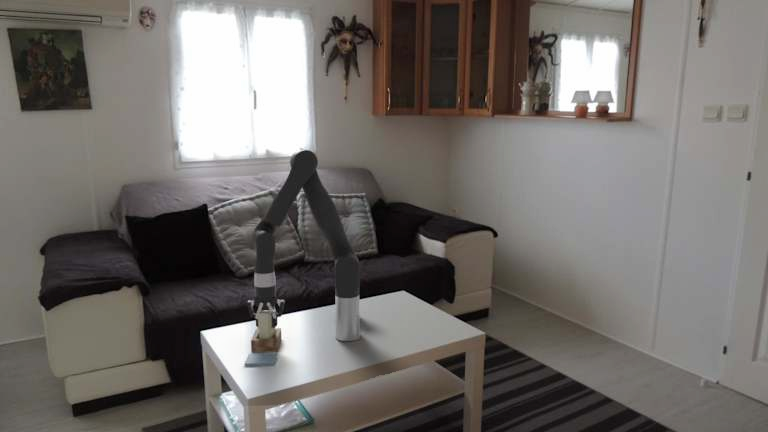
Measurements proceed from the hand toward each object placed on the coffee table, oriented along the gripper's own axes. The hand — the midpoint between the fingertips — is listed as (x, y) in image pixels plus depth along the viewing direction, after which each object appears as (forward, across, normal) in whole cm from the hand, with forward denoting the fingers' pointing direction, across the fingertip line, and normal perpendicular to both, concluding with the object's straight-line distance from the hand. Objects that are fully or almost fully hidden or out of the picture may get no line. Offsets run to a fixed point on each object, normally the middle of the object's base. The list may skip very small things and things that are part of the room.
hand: (266, 327), depth 208 cm
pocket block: (+7, 0, 0) cm, 7 cm away
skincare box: (+6, 0, 0) cm, 6 cm away
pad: (+7, 0, +13) cm, 15 cm away
